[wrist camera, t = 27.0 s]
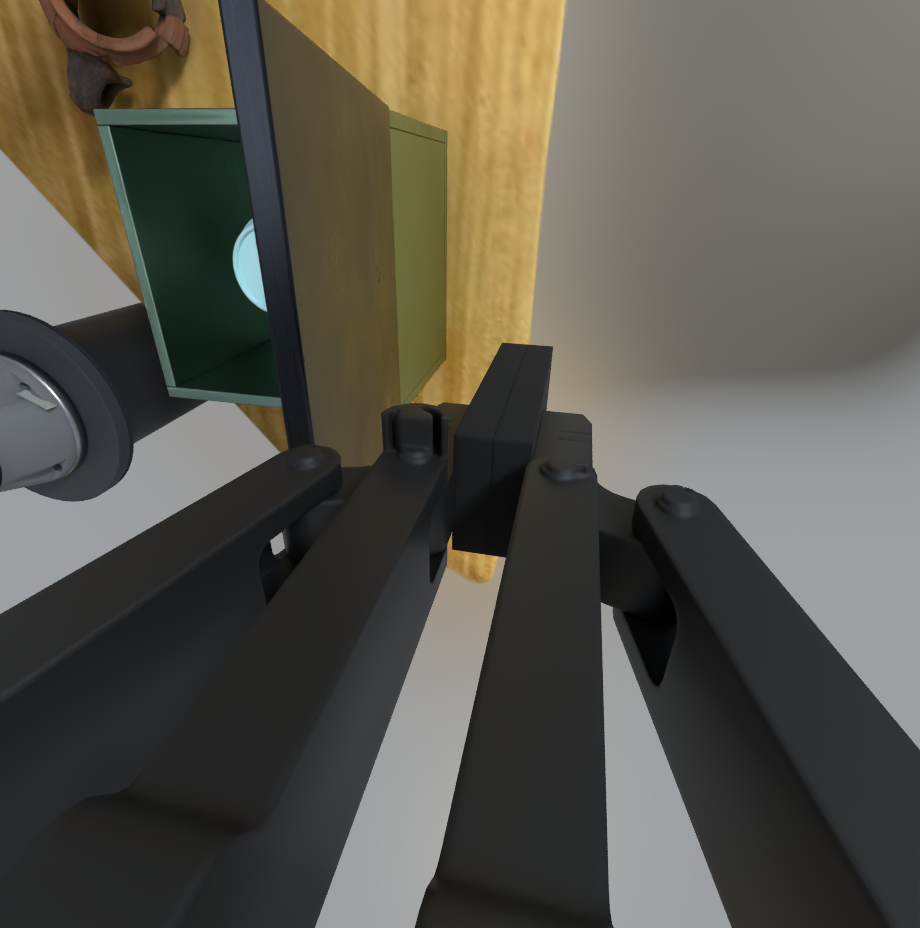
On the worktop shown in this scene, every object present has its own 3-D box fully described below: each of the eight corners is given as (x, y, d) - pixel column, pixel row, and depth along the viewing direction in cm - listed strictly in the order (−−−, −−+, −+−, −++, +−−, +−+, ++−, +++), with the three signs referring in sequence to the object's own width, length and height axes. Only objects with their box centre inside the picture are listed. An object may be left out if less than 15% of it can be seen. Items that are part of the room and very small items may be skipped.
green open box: (270, 344, 51) (169, 396, 38) (235, 130, 42) (92, 108, 30) (446, 359, 48) (397, 420, 35) (447, 131, 39) (384, 107, 27)
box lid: (316, 632, 19) (338, 633, 19) (214, -13, 10) (254, -12, 10) (389, 422, 35) (401, 423, 35) (373, 106, 26) (389, 106, 26)
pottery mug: (67, -75, 38) (19, -148, 31) (207, -3, 42) (193, -53, 35) (50, 104, 42) (3, 75, 34) (181, 155, 45) (164, 139, 38)
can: (291, 249, 45) (204, 269, 35) (338, 183, 42) (257, 183, 31) (352, 310, 46) (285, 346, 36) (402, 250, 43) (344, 272, 33)
